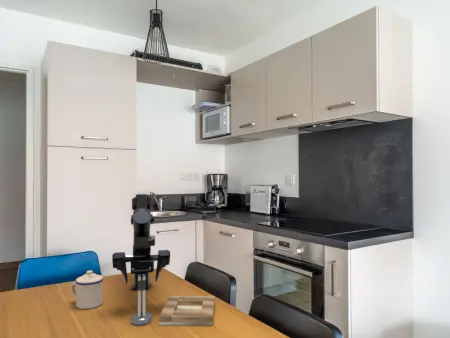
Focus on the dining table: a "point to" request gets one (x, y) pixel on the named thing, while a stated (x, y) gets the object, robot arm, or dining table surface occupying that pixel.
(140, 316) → the round base pedestal
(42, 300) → the dining table surface
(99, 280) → the teacup with lid
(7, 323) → the dining table surface
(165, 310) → the square wooden tray
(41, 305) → the dining table surface
